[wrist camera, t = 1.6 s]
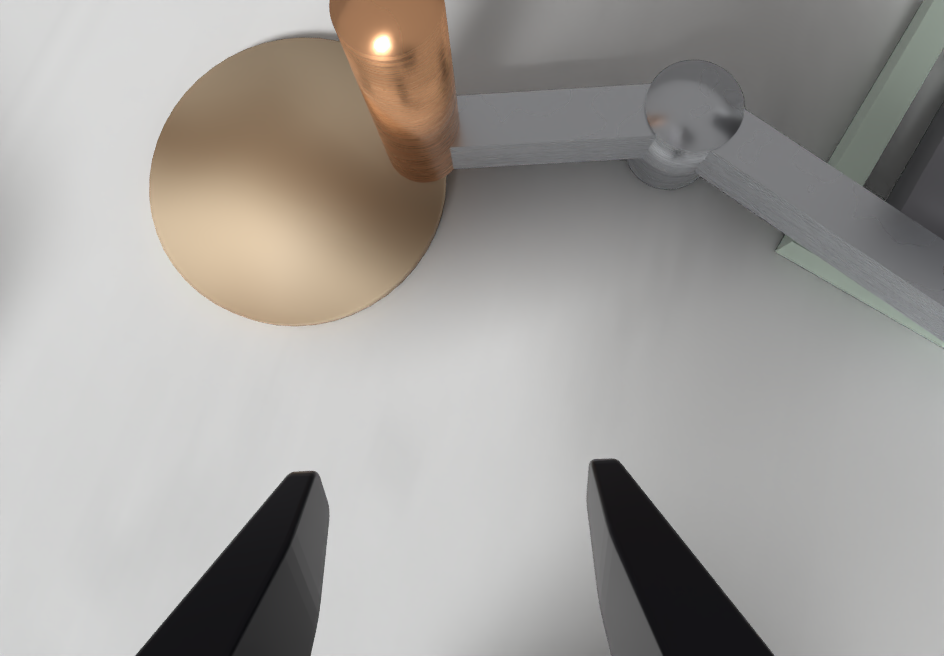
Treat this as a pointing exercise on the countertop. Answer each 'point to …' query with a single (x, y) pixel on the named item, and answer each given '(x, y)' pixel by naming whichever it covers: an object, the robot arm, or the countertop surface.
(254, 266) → the coaster
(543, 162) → the grey rod with hub
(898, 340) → the countertop surface
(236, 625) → the robot arm
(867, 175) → the socket frame
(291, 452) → the countertop surface
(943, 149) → the plug
